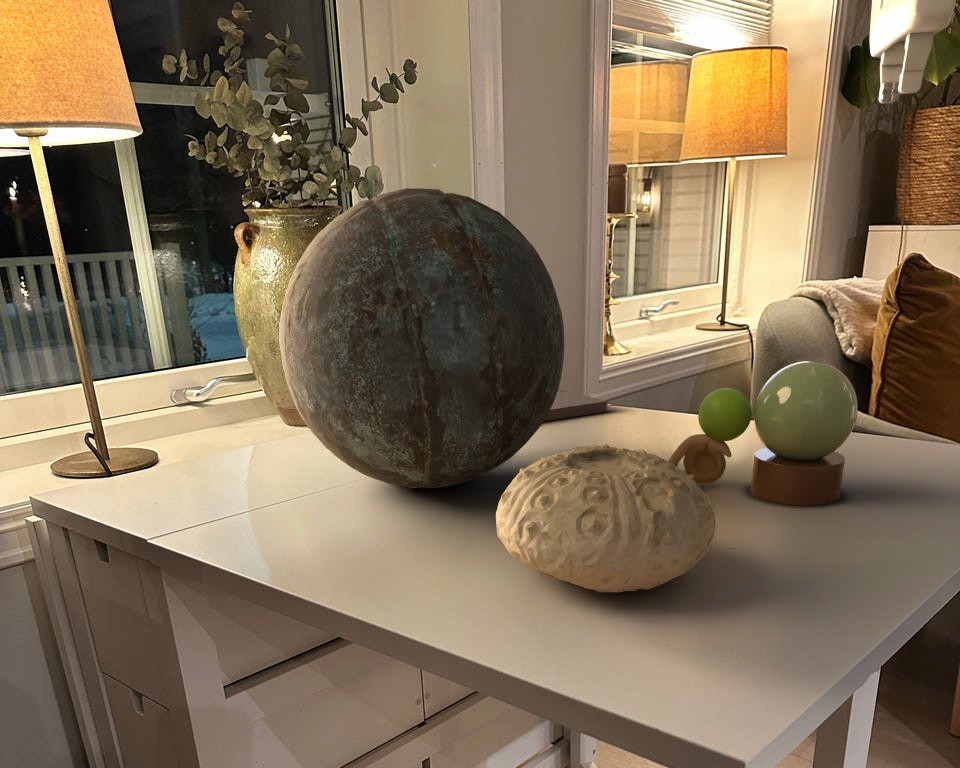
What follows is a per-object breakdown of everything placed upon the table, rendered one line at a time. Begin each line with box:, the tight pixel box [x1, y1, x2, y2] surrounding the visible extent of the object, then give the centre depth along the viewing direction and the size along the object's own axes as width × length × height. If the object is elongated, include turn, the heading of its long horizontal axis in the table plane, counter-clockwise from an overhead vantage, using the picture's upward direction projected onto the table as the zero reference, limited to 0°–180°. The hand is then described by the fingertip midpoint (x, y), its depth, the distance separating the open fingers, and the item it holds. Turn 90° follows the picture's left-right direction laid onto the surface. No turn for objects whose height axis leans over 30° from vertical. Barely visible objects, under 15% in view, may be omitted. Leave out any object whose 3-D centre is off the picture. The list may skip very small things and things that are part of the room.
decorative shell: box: [495, 443, 716, 593], centre depth 75 cm, size 18×18×10 cm
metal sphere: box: [278, 187, 565, 489], centre depth 97 cm, size 30×30×30 cm
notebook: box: [543, 388, 608, 422], centre depth 136 cm, size 13×2×21 cm
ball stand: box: [750, 360, 859, 506], centre depth 94 cm, size 10×10×14 cm
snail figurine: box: [667, 387, 753, 485], centre depth 98 cm, size 5×6×12 cm
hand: (897, 98), depth 92 cm, fingers open, 8 cm apart
